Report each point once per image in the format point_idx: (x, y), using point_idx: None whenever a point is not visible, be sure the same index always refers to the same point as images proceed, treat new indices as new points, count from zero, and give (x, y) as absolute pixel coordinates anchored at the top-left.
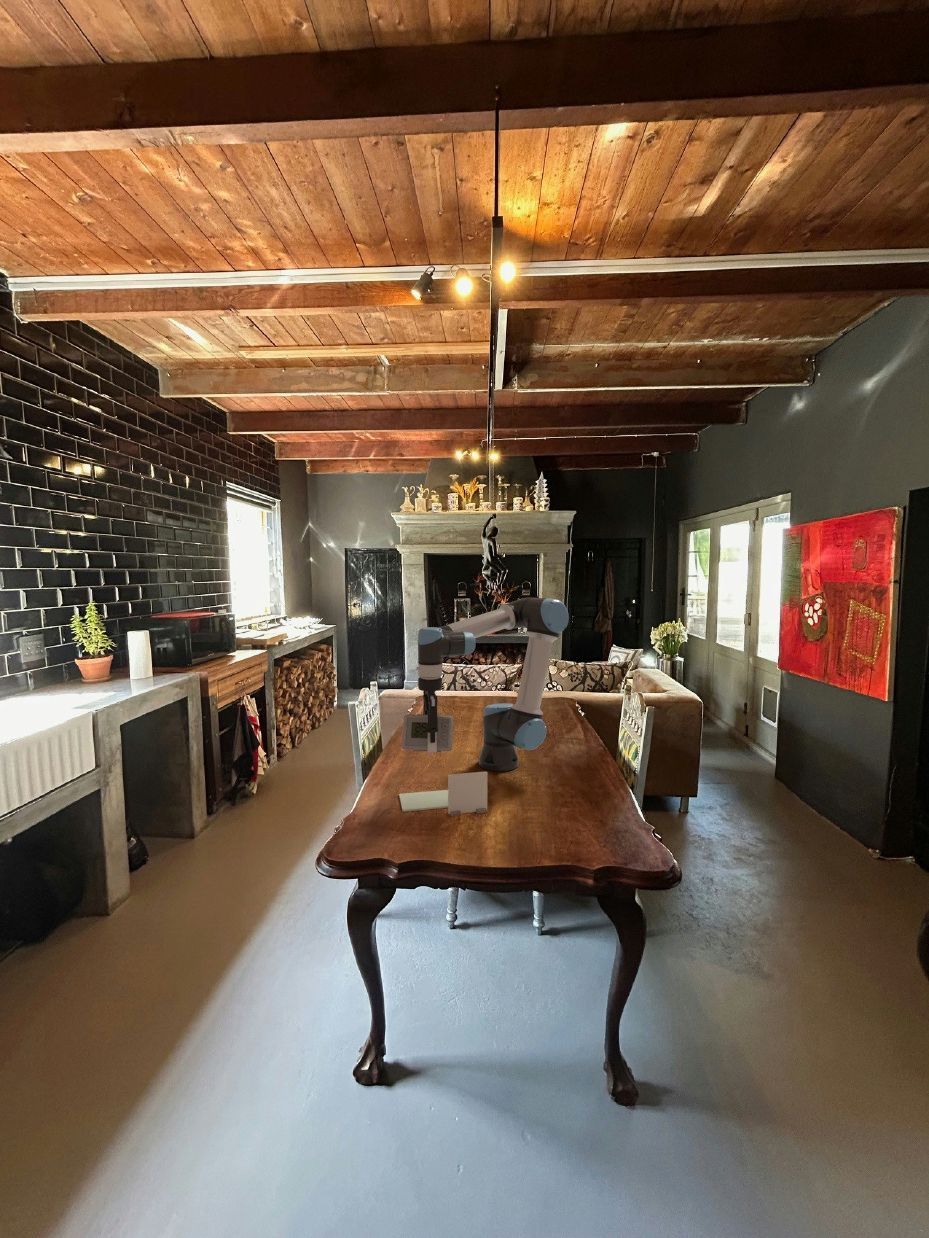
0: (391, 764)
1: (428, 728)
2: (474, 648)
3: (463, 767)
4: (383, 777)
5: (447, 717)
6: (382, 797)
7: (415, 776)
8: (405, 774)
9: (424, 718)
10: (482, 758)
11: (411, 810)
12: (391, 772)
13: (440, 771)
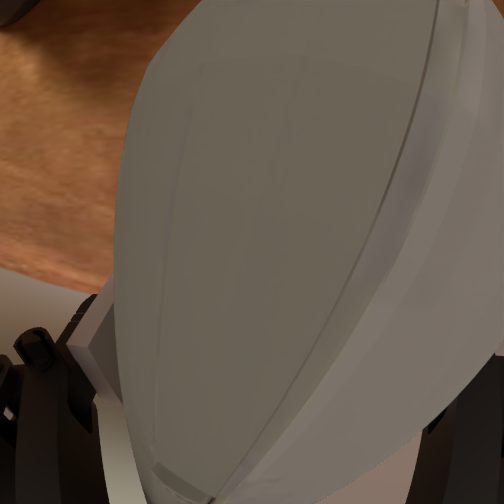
0: (23, 261)
1: (432, 428)
2: None
3: (21, 62)
4: (94, 283)
5: (484, 333)
6: None
7: (76, 202)
8: (67, 229)
9: None
10: (11, 6)
11: None
12: (62, 264)
13: (41, 128)
